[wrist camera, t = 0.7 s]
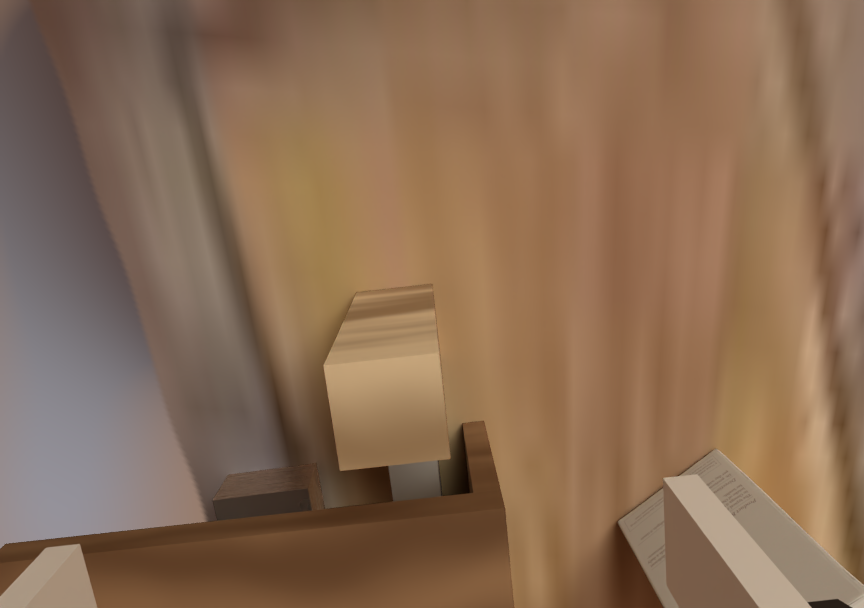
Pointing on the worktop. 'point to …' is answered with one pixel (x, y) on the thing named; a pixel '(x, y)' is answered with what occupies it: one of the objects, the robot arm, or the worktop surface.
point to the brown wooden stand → (310, 554)
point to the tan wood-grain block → (390, 390)
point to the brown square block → (269, 492)
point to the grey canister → (760, 519)
